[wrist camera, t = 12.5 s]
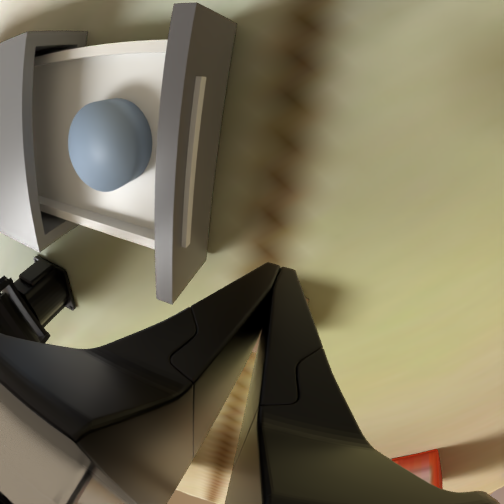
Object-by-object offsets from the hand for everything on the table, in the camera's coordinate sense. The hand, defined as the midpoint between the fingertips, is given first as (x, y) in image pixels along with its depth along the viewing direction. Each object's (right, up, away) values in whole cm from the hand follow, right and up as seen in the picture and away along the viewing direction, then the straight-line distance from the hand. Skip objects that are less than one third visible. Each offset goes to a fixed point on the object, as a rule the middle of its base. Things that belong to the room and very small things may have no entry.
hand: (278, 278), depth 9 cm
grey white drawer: (-12, +10, +12) cm, 20 cm away
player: (-25, +14, +15) cm, 32 cm away
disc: (-10, +9, +11) cm, 17 cm away
